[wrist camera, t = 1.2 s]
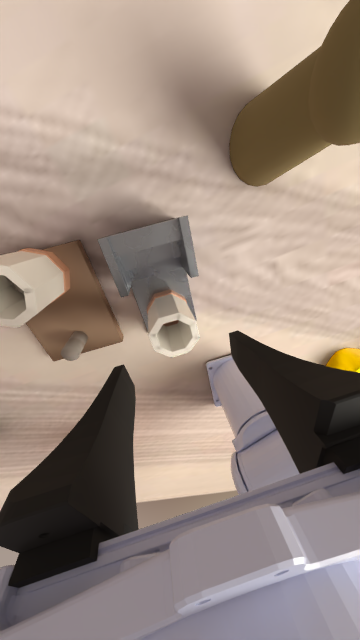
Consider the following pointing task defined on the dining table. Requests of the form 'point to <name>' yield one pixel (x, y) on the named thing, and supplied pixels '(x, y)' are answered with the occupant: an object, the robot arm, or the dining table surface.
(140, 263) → the grey metal bracket
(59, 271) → the sleeve
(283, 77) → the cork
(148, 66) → the dining table surface
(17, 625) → the robot arm
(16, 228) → the dining table surface
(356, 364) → the element tile
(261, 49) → the dining table surface
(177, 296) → the sleeve
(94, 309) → the pin board
